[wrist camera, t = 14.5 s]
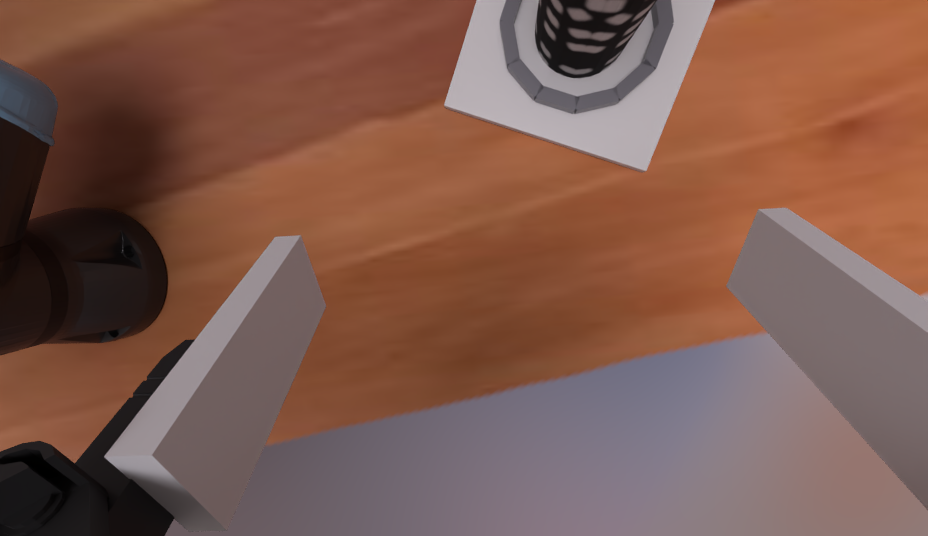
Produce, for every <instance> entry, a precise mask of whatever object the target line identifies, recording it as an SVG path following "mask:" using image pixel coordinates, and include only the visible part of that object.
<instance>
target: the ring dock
mask: <svg viewBox="0 0 928 536" xmlns="http://www.w3.org/2000/svg"><path fill="white" fill-rule="evenodd" d="M714 2H715V0H657V1H656V2H655V4H654V5H653V7H652V8H651V10H650V11H649V13H648V14H647V16H646V17H645V19H644V20H643V22H642V23H641V25H640V26H639V28H638V29H637V30H636V32H635V33H634V35H633V36H632V38H631V39H630V41H629V42H628V44H627V45H626V47H625V48H624V50H623V51H622V53H621V54H620V55H619V57H618V58H617V59H616V61H615V62H614V63H613V64H611V65H610V66H609V67H608V68H607V69H605V70H604V71H602V72H600V73H598V74H596V75H593V76H591V77H585V78H570V77H566V76H563V75H561V74H558V73H556V72H555V71H553V70H552V69H551V68H549V67H548V66H547V64H546V63H545V62H544V61H543V60H542V58H541V56H540V54H539V52H538V49H537V46H536V41H535V24H536V17H537V10H538V3H539V0H477V1H476V5H475V8H474V11H473V14H472V17H471V21H470V24H469V27H468V30H467V33H466V37H465V40H464V43H463V46H462V50H461V53H460V56H459V59H458V62H457V66H456V69H455V72H454V75H453V78H452V82H451V85H450V88H449V91H448V95H447V98H446V101H445V104H444V106H445V108H446V109H449V110H452V111H455V112H458V113H461V114H464V115H467V116H471V117H474V118H477V119H480V120H483V121H486V122H489V123H492V124H495V125H498V126H501V127H504V128H507V129H510V130H514V131H517V132H520V133H523V134H526V135H529V136H532V137H535V138H538V139H541V140H544V141H547V142H550V143H553V144H556V145H560V146H563V147H566V148H569V149H572V150H575V151H578V152H581V153H584V154H587V155H590V156H593V157H596V158H599V159H603V160H606V161H609V162H612V163H615V164H618V165H621V166H624V167H627V168H630V169H633V170H636V171H639V172H645V171H646V170H647V168H648V165H649V163H650V160H651V158H652V155H653V153H654V150H655V148H656V145H657V143H658V140H659V138H660V136H661V133H662V131H663V128H664V126H665V123H666V121H667V118H668V116H669V113H670V111H671V108H672V106H673V103H674V101H675V98H676V96H677V93H678V91H679V88H680V86H681V84H682V81H683V79H684V76H685V74H686V71H687V69H688V66H689V64H690V61H691V59H692V56H693V54H694V51H695V49H696V46H697V44H698V41H699V39H700V36H701V34H702V31H703V29H704V27H705V24H706V22H707V19H708V17H709V14H710V12H711V9H712V7H713V4H714Z"/></svg>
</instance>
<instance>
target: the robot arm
mask: <svg viewBox="0 0 928 536" xmlns="http://www.w3.org/2000/svg"><path fill="white" fill-rule="evenodd" d="M57 110H58V104H57V100H56V97H55V95H54V94H53V92H52V91H51V90H50V89H49V87H48V86H46V85H45V84H44V83H43V82H42V81H40V80H39V79H37V78H35V77H34V76H32V75H30V74H28V73H27V72H25V71H23V70H21V69H19V68H17V67H15V66H13V65H11V64H9V63H7V62H5V61H3V60H1V59H0V355H4V354H7V353H11V352H14V351H18V350H21V349H25V348H28V347H32V346H36V345H40V344H62V343H105V342H111V341H115V340H118V339H122V338H125V337H128V336H131V335H134V334H137V333H139V332H141V331H142V330H144V329H145V328H147V327H148V326H149V325H150V324H151V323H152V322H153V321H154V320H155V318H156V317H157V315H158V314H159V312H160V310H161V308H162V306H163V303H164V299H165V295H166V288H167V277H166V270H165V265H164V261H163V258H162V255H161V253H160V251H159V248H158V247H157V245H156V243H155V241H154V240H153V238H152V237H151V236H150V234H149V233H148V232H147V231H146V230H145V229H144V228H143V227H142V226H141V225H140V224H139V223H138V222H136V221H135V220H134V219H132V218H131V217H129V216H127V215H125V214H123V213H121V212H118V211H115V210H111V209H105V208H73V209H67V210H63V211H60V212H56V213H52V214H49V215H45V216H41V217H38V218H34V219H31V220H29V217H30V214H31V210H32V207H33V203H34V200H35V196H36V193H37V189H38V186H39V182H40V179H41V175H42V172H43V168H44V164H45V161H46V157H47V154H48V150H49V147H50V146H53V145H54V139H53V138H52V134H53V129H54V124H55V119H56V115H57ZM726 287H727V288H728V289H729V290H730V291H731V292H732V293H733V294H734V296H735V297H736V298H737V299H738V300H739V301H740V302H741V303H742V304H743V306H744V307H745V308H746V309H747V310H748V311H749V312H750V313H751V314H752V316H753V317H754V318H755V319H756V320H757V321H758V322H759V323H760V324H761V326H762V327H763V328H764V329H765V330H766V331H767V332H768V333H769V334H770V335H771V337H772V338H773V339H774V340H775V341H776V342H777V343H778V344H779V345H780V347H781V348H782V349H783V350H784V351H785V352H786V353H787V354H788V355H789V357H790V358H791V359H792V360H793V361H794V362H795V363H796V364H797V365H798V367H799V368H800V369H801V370H802V371H803V372H804V373H805V374H806V375H807V377H808V378H809V379H810V380H811V381H812V382H813V383H814V384H815V385H816V387H817V388H818V389H819V390H820V391H821V392H822V393H823V394H824V395H825V396H826V397H827V399H828V400H829V401H830V402H831V403H832V404H833V405H834V407H835V408H836V409H837V410H838V411H839V412H840V413H841V414H842V415H843V416H844V418H845V419H846V420H847V421H848V422H849V423H850V424H851V425H852V426H853V427H854V429H855V430H856V431H857V432H858V433H859V434H860V435H861V436H862V438H863V439H864V440H865V441H866V442H867V443H868V444H869V445H870V446H871V448H872V449H873V450H874V451H875V452H876V453H877V454H878V455H879V456H880V458H881V459H882V460H883V461H884V462H885V463H886V464H887V465H888V467H889V468H890V469H891V470H892V471H893V472H894V473H895V474H896V475H897V476H898V478H899V479H900V480H901V481H902V482H903V483H904V484H905V485H906V486H907V488H908V489H909V490H910V491H911V492H912V493H913V494H914V495H915V496H916V498H917V499H918V500H919V501H920V502H921V503H922V504H923V505H924V507H926V509H927V510H928V301H927V300H925V299H924V298H922V297H921V296H919V295H918V294H916V293H915V292H913V291H912V290H910V289H909V288H907V287H906V286H904V285H903V284H901V283H900V282H898V281H897V280H895V279H894V278H892V277H890V276H889V275H887V274H886V273H884V272H883V271H881V270H880V269H878V268H877V267H875V266H874V265H872V264H871V263H869V262H868V261H866V260H865V259H863V258H862V257H860V256H859V255H857V254H856V253H854V252H853V251H851V250H850V249H848V248H847V247H845V246H843V245H842V244H840V243H839V242H837V241H836V240H834V239H833V238H831V237H830V236H828V235H827V234H825V233H824V232H822V231H821V230H819V229H818V228H816V227H815V226H813V225H812V224H810V223H809V222H807V221H806V220H804V219H803V218H801V217H800V216H798V215H797V214H795V213H793V212H792V211H790V210H789V209H787V208H774V209H758V211H757V214H756V216H755V219H754V221H753V223H752V226H751V228H750V231H749V233H748V235H747V238H746V240H745V243H744V245H743V247H742V250H741V252H740V255H739V257H738V259H737V262H736V264H735V267H734V269H733V271H732V274H731V276H730V279H729V281H728V283H727V286H726ZM325 308H326V304H325V302H324V299H323V296H322V293H321V290H320V288H319V285H318V282H317V279H316V276H315V274H314V271H313V268H312V265H311V262H310V260H309V257H308V254H307V251H306V248H305V246H304V243H303V240H302V237H301V235H299V236H282V237H275V238H274V239H273V241H272V242H271V243H270V244H269V246H268V247H267V248H266V250H265V251H264V252H263V253H262V255H261V256H260V257H259V258H258V260H257V261H256V262H255V264H254V265H253V266H252V267H251V269H250V270H249V271H248V273H247V274H246V275H245V276H244V278H243V279H242V280H241V282H240V283H239V284H238V285H237V287H236V288H235V289H234V291H233V292H232V293H231V294H230V296H229V297H228V298H227V300H226V301H225V302H224V303H223V305H222V306H221V307H220V309H219V310H218V311H217V312H216V314H215V315H214V316H213V317H212V319H211V320H210V321H209V323H208V324H207V325H206V326H205V328H204V329H203V330H202V332H201V333H200V334H199V335H198V337H197V338H196V339H195V340H185V341H184V342H182V343H181V344H180V345H178V346H177V347H176V348H175V349H173V350H172V351H171V352H169V353H168V354H167V355H165V356H164V357H163V358H162V359H161V360H160V362H159V363H158V364H157V365H156V366H155V368H154V369H153V370H152V371H151V372H150V374H149V375H148V376H147V380H146V381H143V382H142V383H141V384H140V386H139V387H138V388H137V389H136V391H135V392H134V393H133V397H132V398H129V399H128V400H127V401H126V403H125V404H124V405H123V406H122V407H121V409H120V410H119V411H118V412H117V413H116V415H115V416H114V417H113V418H112V419H111V421H110V422H109V423H108V424H107V425H106V427H105V428H104V429H103V430H102V431H101V433H100V434H99V435H98V436H97V437H96V439H95V440H94V441H93V442H92V444H91V445H90V446H89V447H88V448H87V450H86V451H85V452H84V453H83V454H82V456H81V457H80V458H79V459H78V460H77V462H76V463H75V464H74V463H73V462H72V461H71V460H69V459H68V458H67V457H66V456H64V455H63V454H62V453H61V452H59V451H58V450H57V449H56V448H54V447H53V446H52V445H50V444H47V443H44V442H41V441H36V442H29V443H22V444H19V445H17V446H14V447H11V448H9V449H6V450H4V451H1V452H0V536H165V534H166V532H167V530H168V528H169V526H170V524H171V523H172V521H173V519H175V520H176V521H177V522H179V523H180V524H181V525H182V526H183V527H184V528H185V529H187V530H188V531H189V532H193V531H227V529H228V527H229V525H230V523H231V520H232V518H233V515H234V514H235V511H236V509H237V507H238V505H239V502H240V500H241V498H242V495H243V493H244V491H245V489H246V487H247V484H248V482H249V480H250V477H251V475H252V473H253V470H254V468H255V466H256V464H257V462H258V459H259V457H260V455H261V452H262V450H263V448H264V446H265V444H266V441H267V439H268V437H269V435H270V432H271V430H272V428H273V425H274V423H275V421H276V419H277V416H278V414H279V412H280V410H281V407H282V405H283V403H284V401H285V398H286V396H287V394H288V392H289V389H290V387H291V385H292V382H293V380H294V378H295V376H296V373H297V371H298V369H299V367H300V364H301V362H302V360H303V358H304V355H305V353H306V351H307V349H308V346H309V344H310V342H311V340H312V337H313V335H314V333H315V330H316V328H317V326H318V324H319V321H320V319H321V317H322V315H323V312H324V310H325Z"/></svg>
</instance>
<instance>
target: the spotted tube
mask: <svg viewBox="0 0 928 536" xmlns="http://www.w3.org/2000/svg"><path fill="white" fill-rule="evenodd" d="M656 1H657V0H539V3H538V10H537V17H536V24H535V41H536V46H537V49H538V52H539V54H540V56H541V58H542V60H543V61H544V62H545V63H546V64H547V66H548V67H549V68H551V69H552V70H553V71H555V72H556V73H558V74H561V75H563V76H566V77H570V78H585V77H591V76H593V75H596V74H598V73H600V72H602V71H604V70H605V69H607V68H608V67H609V66H610V65H611V64H613V63H614V62H615V61H616V59H617V58H618V57H619V55H620V54H621V53H622V51H623V50H624V48H625V47H626V45H627V44H628V42H629V41H630V39H631V38H632V36H633V35H634V33H635V32H636V30H637V29H638V28H639V26H640V25H641V23H642V22H643V20H644V19H645V17H646V16H647V14H648V13H649V11H650V10H651V8H652V7H653V5H654V4H655V2H656Z"/></svg>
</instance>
